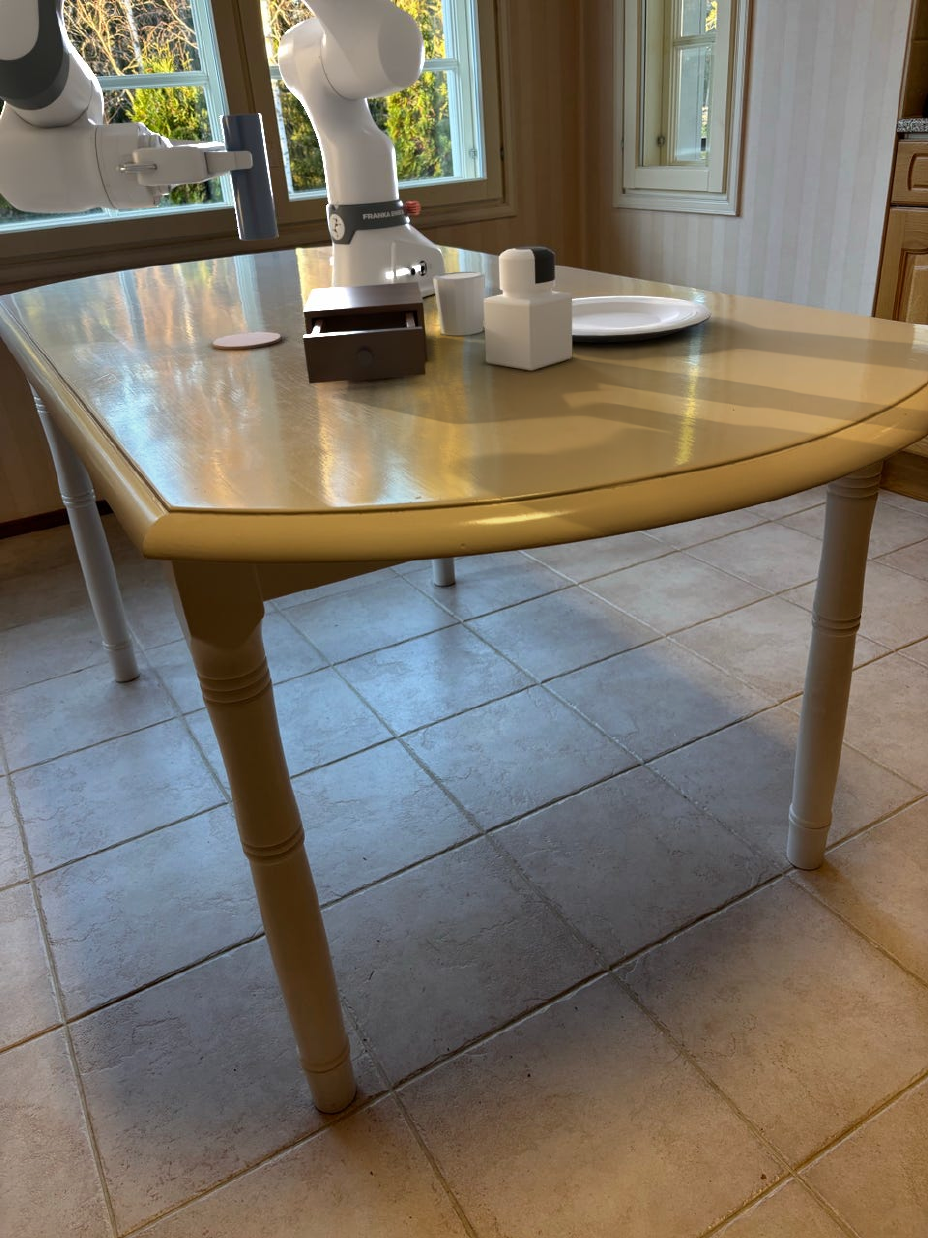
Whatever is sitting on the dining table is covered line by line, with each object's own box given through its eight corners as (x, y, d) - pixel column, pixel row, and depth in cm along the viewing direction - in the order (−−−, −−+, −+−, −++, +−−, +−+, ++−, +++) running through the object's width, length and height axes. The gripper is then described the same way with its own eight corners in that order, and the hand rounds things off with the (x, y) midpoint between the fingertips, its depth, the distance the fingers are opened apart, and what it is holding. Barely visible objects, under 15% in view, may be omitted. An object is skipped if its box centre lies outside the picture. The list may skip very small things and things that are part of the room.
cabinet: (427, 361, 105) (423, 302, 102) (311, 369, 104) (303, 310, 101) (422, 334, 118) (418, 281, 115) (319, 341, 118) (312, 289, 115)
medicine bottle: (526, 351, 106) (524, 242, 101) (573, 358, 102) (573, 245, 96) (484, 363, 102) (479, 250, 96) (531, 371, 98) (529, 253, 92)
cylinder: (265, 234, 111) (246, 114, 105) (286, 236, 108) (269, 112, 102) (233, 239, 108) (212, 116, 102) (254, 240, 106) (234, 114, 99)
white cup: (482, 335, 115) (480, 278, 112) (431, 336, 117) (427, 280, 113) (492, 324, 121) (489, 270, 118) (442, 325, 123) (439, 271, 119)
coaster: (257, 332, 126) (256, 329, 126) (294, 339, 120) (293, 336, 120) (200, 344, 121) (200, 341, 120) (236, 352, 115) (236, 349, 115)
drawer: (426, 377, 94) (422, 330, 92) (308, 386, 94) (301, 339, 92) (420, 345, 108) (417, 304, 106) (317, 353, 108) (312, 312, 105)
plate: (649, 302, 129) (650, 288, 128) (750, 333, 108) (752, 317, 107) (486, 323, 123) (485, 308, 122) (559, 359, 102) (559, 342, 101)
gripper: (104, 135, 93) (238, 127, 94) (148, 134, 111) (260, 127, 112) (119, 202, 96) (248, 193, 97) (159, 190, 114) (268, 183, 115)
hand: (255, 158), depth 104 cm, fingers closed on cylinder, 4 cm apart
